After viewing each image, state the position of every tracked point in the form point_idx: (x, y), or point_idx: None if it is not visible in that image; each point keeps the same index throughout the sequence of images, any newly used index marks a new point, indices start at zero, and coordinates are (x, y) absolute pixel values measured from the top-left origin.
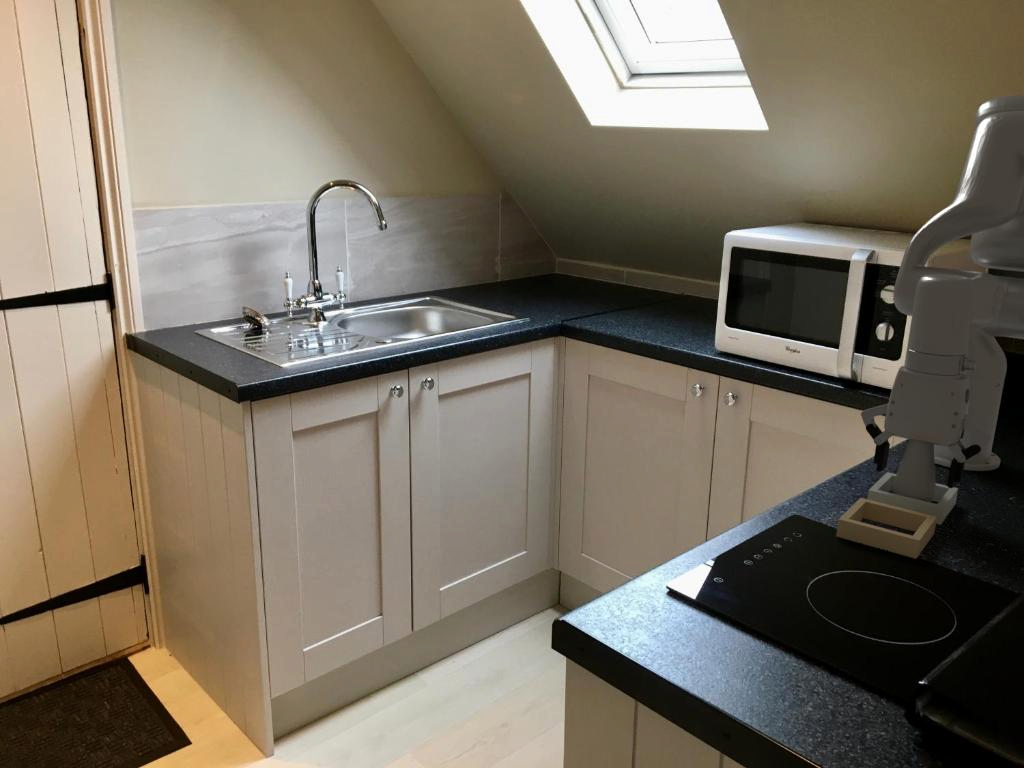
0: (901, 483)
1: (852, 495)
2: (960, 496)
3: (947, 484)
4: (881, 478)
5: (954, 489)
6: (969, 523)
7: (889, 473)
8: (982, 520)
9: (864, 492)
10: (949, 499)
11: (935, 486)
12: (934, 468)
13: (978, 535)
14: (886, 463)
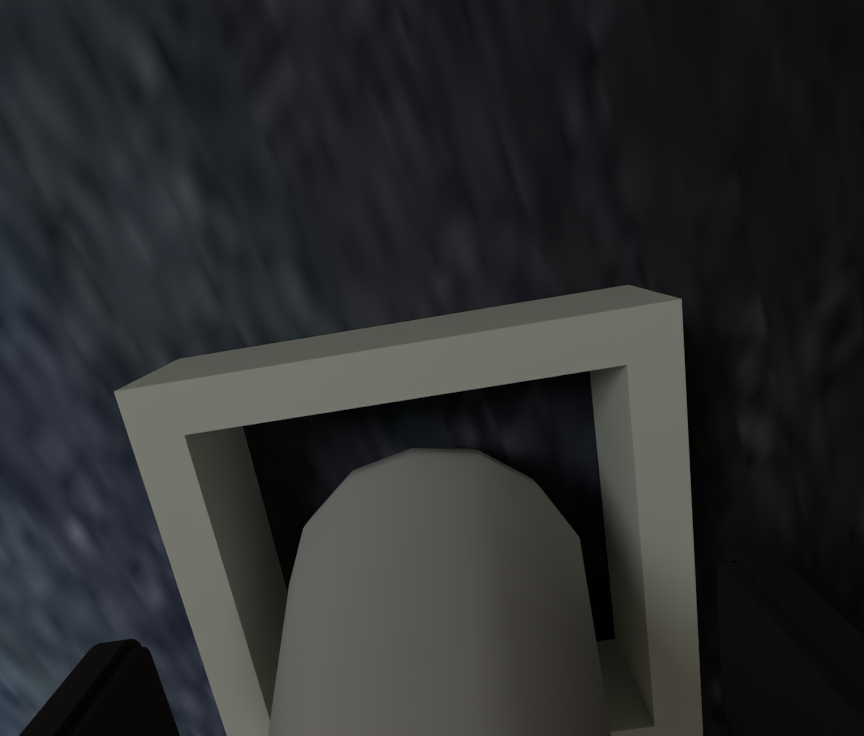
0: None
1: (148, 635)
2: (608, 78)
3: (736, 730)
4: (176, 566)
5: (664, 352)
6: (772, 530)
7: (143, 407)
8: (825, 427)
9: (157, 542)
10: (693, 593)
11: (584, 578)
12: (606, 728)
13: None
14: (130, 690)
